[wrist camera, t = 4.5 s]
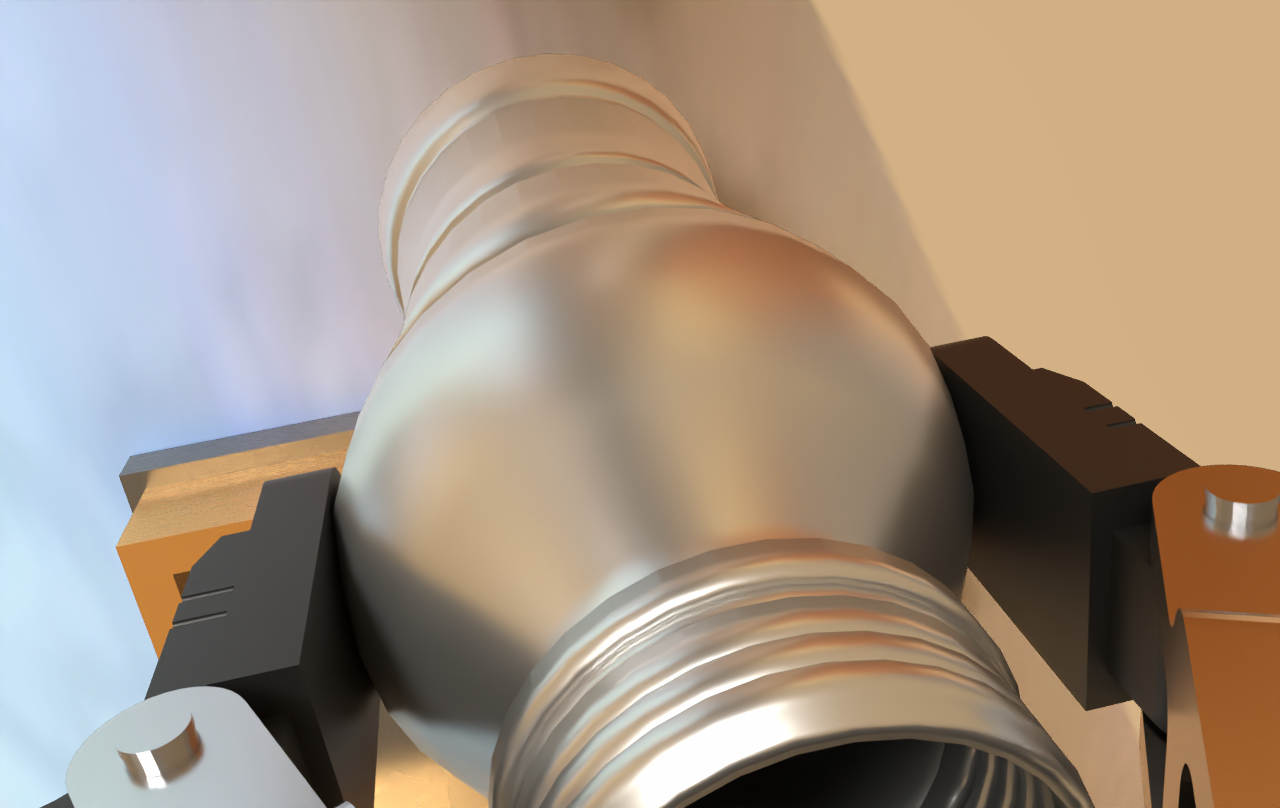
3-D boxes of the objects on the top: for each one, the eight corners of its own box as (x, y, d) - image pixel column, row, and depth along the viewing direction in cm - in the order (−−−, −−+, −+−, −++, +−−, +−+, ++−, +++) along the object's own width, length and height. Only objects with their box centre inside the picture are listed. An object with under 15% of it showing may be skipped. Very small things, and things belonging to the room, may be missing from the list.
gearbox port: (130, 455, 30) (86, 532, 26) (683, 347, 32) (717, 406, 28) (282, 875, 36) (264, 987, 32) (740, 768, 38) (775, 864, 34)
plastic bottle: (740, 221, 26) (1465, 941, 8) (501, 391, 27) (665, 1419, 9) (577, -28, 23) (1113, 199, 5) (315, 168, 24) (-21, 979, 6)
